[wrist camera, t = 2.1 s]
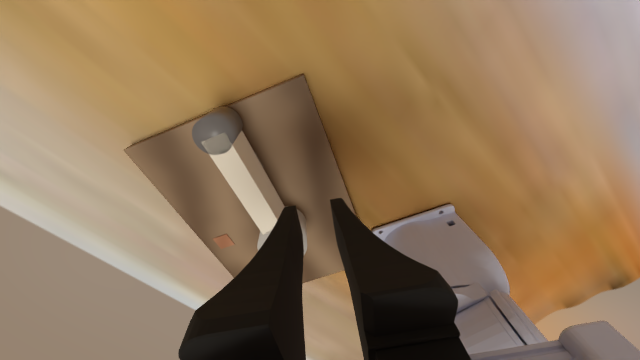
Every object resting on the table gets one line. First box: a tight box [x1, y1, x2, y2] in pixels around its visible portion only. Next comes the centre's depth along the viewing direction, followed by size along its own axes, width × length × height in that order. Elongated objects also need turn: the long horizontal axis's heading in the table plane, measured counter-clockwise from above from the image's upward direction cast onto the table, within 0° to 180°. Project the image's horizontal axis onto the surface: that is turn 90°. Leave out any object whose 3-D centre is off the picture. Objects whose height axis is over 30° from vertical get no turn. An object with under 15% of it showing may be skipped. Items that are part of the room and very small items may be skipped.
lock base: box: [124, 74, 356, 283], centre depth 24 cm, size 16×22×2 cm
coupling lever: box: [192, 107, 307, 254], centre depth 20 cm, size 14×4×3 cm, turn 20°
